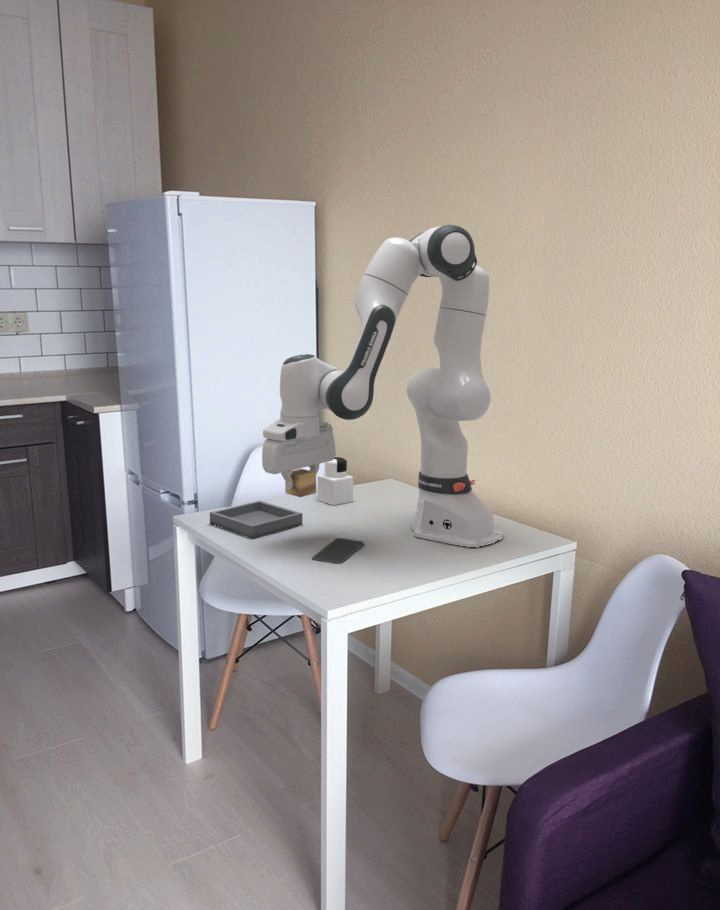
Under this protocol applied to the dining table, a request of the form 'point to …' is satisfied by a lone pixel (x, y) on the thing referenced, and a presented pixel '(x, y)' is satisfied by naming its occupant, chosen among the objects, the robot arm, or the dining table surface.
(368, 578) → the dining table surface
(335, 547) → the smartphone
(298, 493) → the oversize block
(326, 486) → the medicine bottle
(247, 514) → the sorting tray
